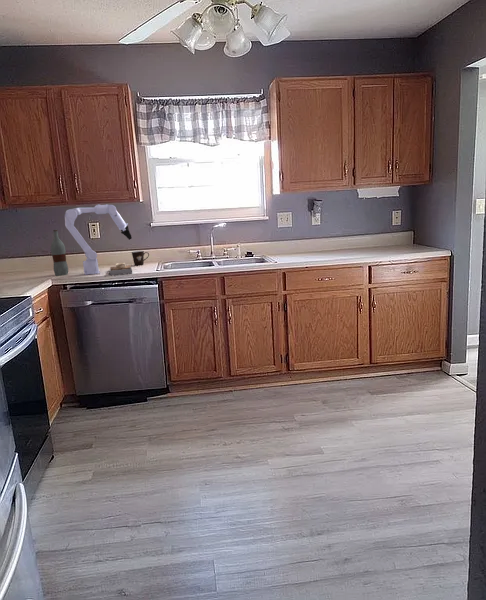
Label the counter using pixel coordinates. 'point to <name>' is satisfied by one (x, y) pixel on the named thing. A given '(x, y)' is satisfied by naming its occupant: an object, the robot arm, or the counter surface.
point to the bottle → (59, 256)
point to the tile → (120, 265)
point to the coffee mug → (139, 257)
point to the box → (120, 272)
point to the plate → (120, 268)
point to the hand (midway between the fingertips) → (130, 237)
